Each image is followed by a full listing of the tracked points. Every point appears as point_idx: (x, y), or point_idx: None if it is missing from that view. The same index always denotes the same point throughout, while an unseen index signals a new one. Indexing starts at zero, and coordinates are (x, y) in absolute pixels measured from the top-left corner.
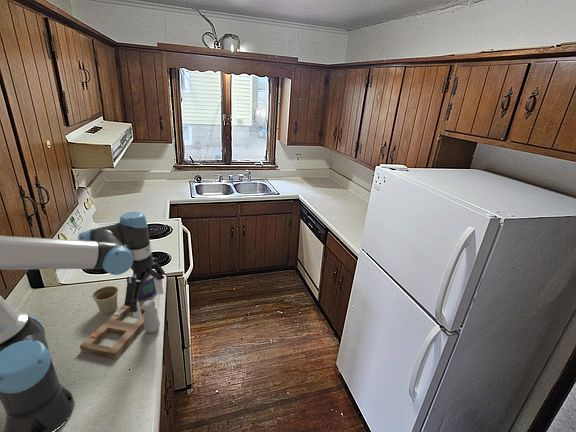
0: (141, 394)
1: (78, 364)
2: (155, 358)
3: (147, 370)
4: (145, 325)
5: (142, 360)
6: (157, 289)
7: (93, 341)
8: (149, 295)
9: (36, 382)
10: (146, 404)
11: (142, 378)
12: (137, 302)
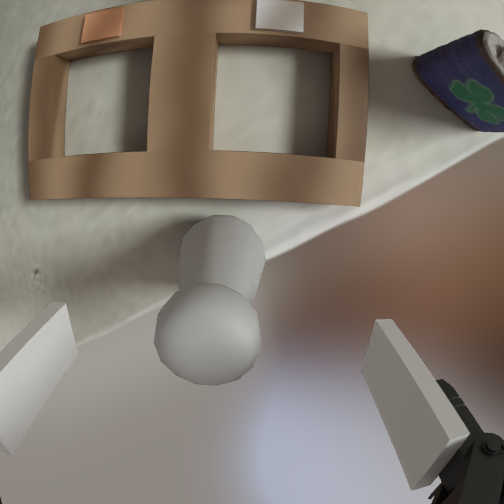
0: None
1: (11, 82)
2: (97, 332)
3: None
4: (180, 253)
5: (74, 294)
6: (387, 365)
7: (64, 52)
8: (452, 105)
9: None
10: None
11: None
12: (3, 446)
